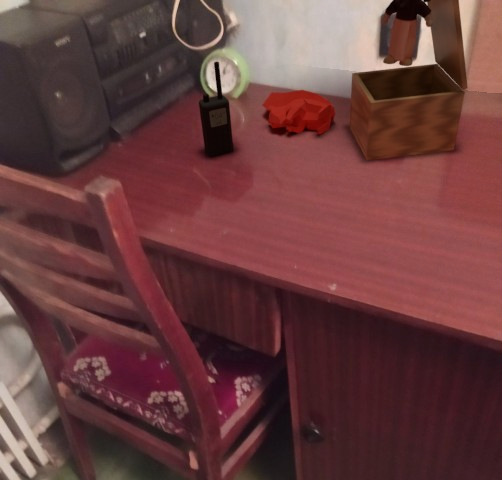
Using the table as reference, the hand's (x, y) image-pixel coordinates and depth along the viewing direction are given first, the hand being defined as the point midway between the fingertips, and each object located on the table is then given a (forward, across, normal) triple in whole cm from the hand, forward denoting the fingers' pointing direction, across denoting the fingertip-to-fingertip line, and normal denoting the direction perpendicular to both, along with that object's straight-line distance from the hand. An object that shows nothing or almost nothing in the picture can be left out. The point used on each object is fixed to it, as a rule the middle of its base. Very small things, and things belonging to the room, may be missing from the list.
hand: (418, 0), depth 83 cm
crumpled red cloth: (+3, +11, -29) cm, 31 cm away
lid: (+2, -6, -5) cm, 8 cm away
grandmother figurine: (+5, 0, -8) cm, 9 cm away
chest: (+14, -2, -18) cm, 23 cm away
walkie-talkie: (+6, +27, -27) cm, 38 cm away
